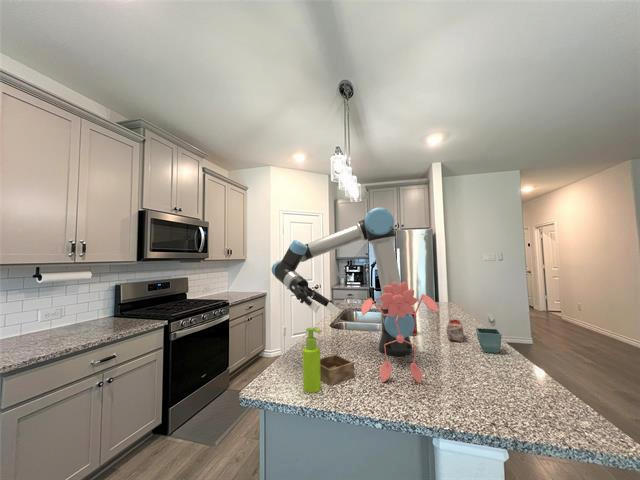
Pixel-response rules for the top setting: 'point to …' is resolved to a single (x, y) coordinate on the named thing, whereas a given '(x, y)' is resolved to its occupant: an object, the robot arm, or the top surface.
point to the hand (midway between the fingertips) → (328, 311)
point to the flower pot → (489, 339)
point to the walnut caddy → (335, 369)
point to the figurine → (400, 303)
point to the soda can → (415, 324)
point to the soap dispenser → (311, 363)
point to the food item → (455, 331)
